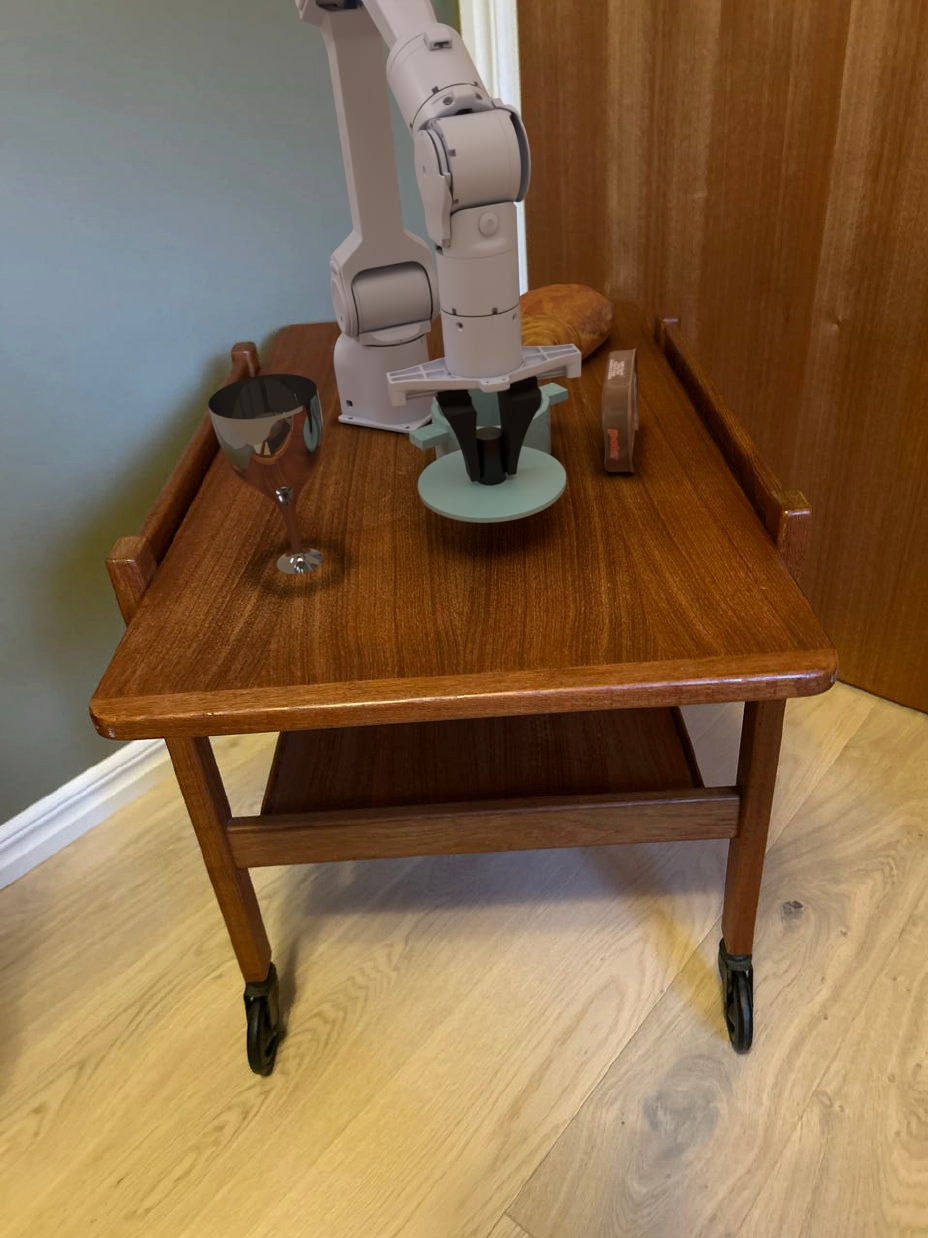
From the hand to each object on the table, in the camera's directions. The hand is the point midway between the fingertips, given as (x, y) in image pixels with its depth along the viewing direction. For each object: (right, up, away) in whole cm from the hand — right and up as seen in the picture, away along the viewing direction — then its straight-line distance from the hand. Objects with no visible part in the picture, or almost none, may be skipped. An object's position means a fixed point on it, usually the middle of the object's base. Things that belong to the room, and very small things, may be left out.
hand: (490, 472), depth 73 cm
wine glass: (-16, -8, +2) cm, 18 cm away
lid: (0, -1, +1) cm, 1 cm away
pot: (+1, +3, +14) cm, 15 cm away
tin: (+13, +4, +14) cm, 19 cm away
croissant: (+8, +21, +36) cm, 42 cm away
